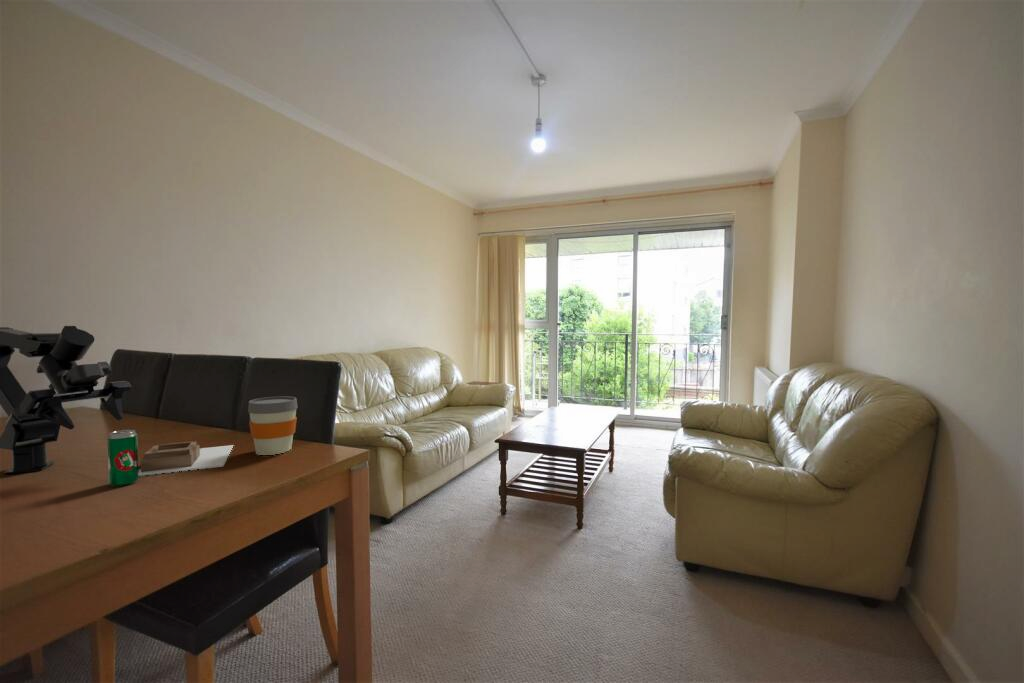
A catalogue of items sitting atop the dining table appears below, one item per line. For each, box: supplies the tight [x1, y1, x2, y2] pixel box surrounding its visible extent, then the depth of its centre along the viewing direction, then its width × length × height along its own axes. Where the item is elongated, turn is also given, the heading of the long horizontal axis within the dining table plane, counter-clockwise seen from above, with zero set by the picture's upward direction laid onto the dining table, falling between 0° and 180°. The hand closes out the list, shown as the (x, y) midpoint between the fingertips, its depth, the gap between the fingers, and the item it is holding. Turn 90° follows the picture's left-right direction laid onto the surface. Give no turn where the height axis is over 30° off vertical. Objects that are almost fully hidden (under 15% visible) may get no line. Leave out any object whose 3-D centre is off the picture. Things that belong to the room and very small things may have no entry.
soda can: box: [106, 429, 140, 488], centre depth 97 cm, size 5×5×12 cm
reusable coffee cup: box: [247, 395, 298, 456], centre depth 122 cm, size 13×13×15 cm
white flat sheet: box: [138, 444, 235, 477], centre depth 114 cm, size 20×18×1 cm
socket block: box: [140, 440, 201, 472], centre depth 110 cm, size 10×10×5 cm
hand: (97, 423), depth 99 cm, fingers open, 9 cm apart
